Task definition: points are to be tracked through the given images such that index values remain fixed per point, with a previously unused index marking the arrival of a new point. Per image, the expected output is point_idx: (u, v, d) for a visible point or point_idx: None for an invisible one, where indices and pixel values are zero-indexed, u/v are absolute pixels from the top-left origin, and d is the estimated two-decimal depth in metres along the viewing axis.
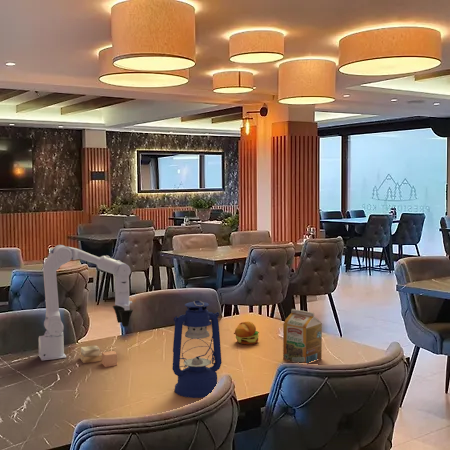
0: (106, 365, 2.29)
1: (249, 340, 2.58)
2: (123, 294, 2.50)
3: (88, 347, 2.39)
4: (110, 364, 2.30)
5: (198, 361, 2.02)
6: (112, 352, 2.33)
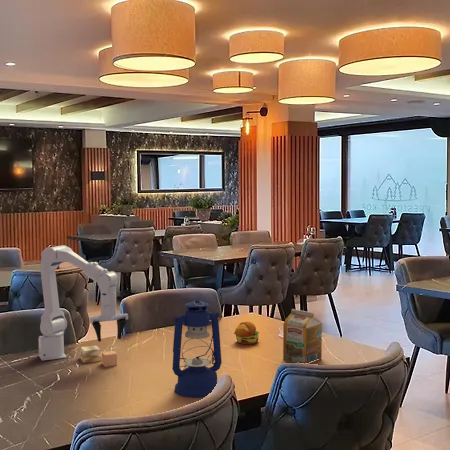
0: (106, 365, 2.29)
1: (249, 340, 2.58)
2: (101, 306, 2.30)
3: (88, 347, 2.39)
4: (110, 364, 2.30)
5: (198, 361, 2.02)
6: (112, 352, 2.33)
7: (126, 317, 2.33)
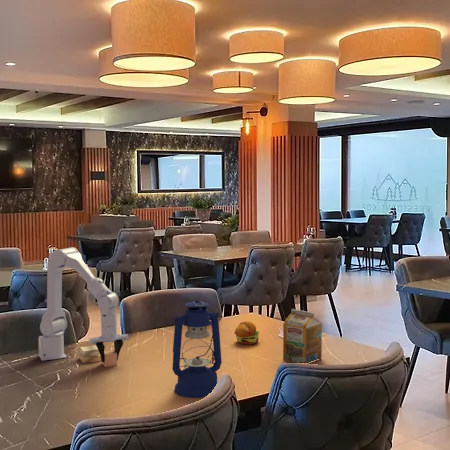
0: (106, 365, 2.29)
1: (249, 340, 2.58)
2: (101, 327, 2.30)
3: (87, 347, 2.39)
4: (110, 364, 2.30)
5: (198, 361, 2.02)
6: (112, 352, 2.33)
7: (126, 338, 2.34)
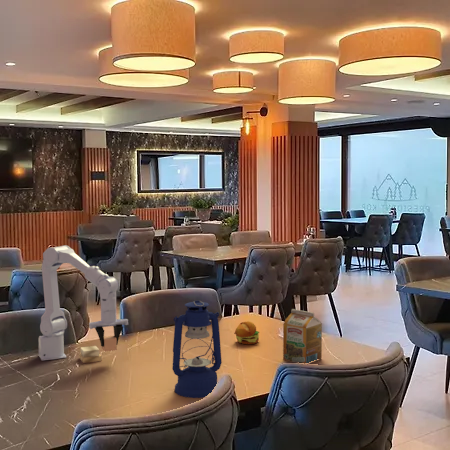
0: (106, 349, 2.29)
1: (249, 340, 2.58)
2: (101, 311, 2.30)
3: (87, 347, 2.39)
4: (110, 348, 2.30)
5: (198, 361, 2.02)
6: (112, 337, 2.32)
7: (126, 323, 2.33)
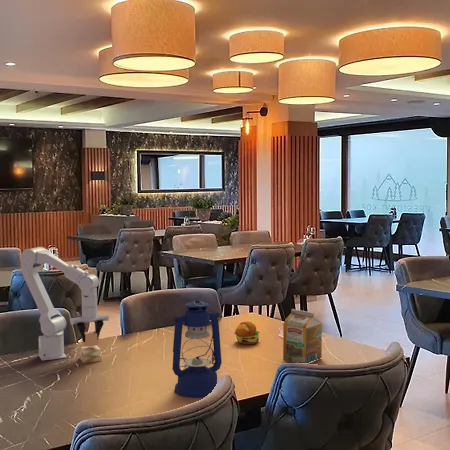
0: (87, 345, 2.35)
1: (249, 340, 2.58)
2: (82, 308, 2.36)
3: (89, 347, 2.39)
4: (91, 344, 2.36)
5: (198, 361, 2.02)
6: (93, 332, 2.39)
7: (107, 318, 2.39)
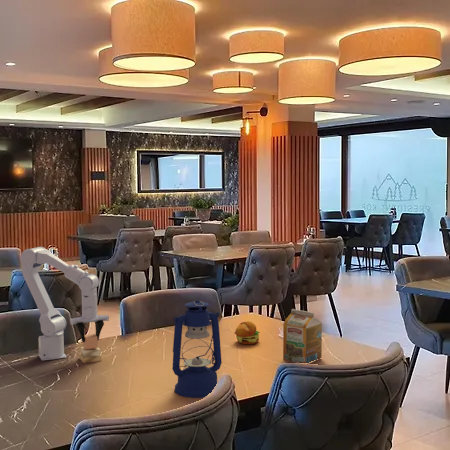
0: (87, 347, 2.35)
1: (249, 340, 2.58)
2: (82, 308, 2.36)
3: None
4: (91, 346, 2.36)
5: (198, 361, 2.02)
6: (93, 335, 2.39)
7: (107, 319, 2.39)
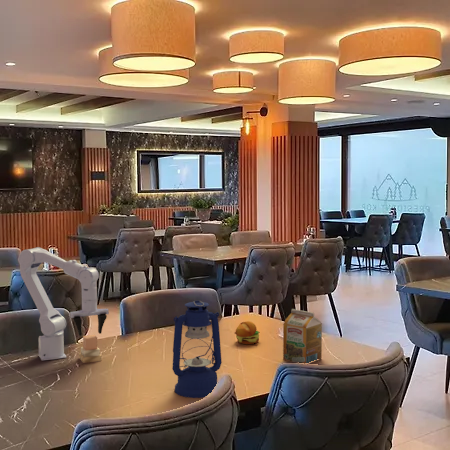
0: (86, 348, 2.36)
1: (250, 340, 2.59)
2: (82, 301, 2.36)
3: None
4: (90, 347, 2.36)
5: (198, 361, 2.02)
6: (93, 336, 2.39)
7: (106, 312, 2.39)
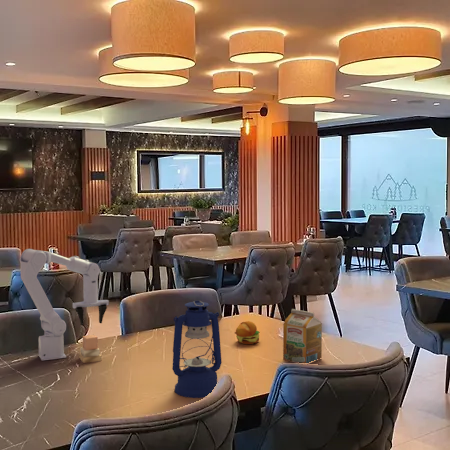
0: (87, 348, 2.36)
1: (250, 340, 2.59)
2: None
3: None
4: (91, 347, 2.36)
5: (198, 361, 2.02)
6: (93, 336, 2.39)
7: (107, 303, 2.54)
